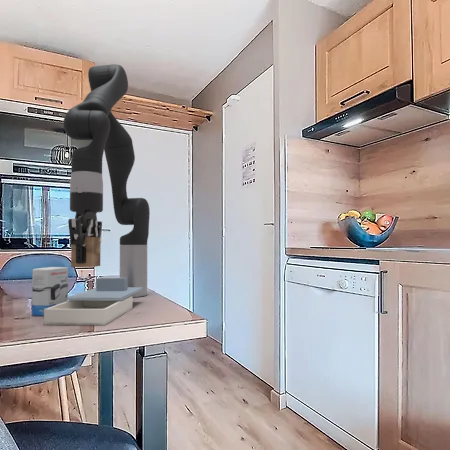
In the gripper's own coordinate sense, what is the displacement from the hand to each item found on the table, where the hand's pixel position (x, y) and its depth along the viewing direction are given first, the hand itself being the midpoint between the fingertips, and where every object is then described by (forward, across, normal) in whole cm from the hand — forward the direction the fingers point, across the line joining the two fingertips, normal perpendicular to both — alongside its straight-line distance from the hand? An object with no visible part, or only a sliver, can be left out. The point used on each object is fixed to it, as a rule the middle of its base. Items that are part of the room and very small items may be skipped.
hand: (86, 262), depth 90 cm
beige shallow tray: (+14, -4, 0) cm, 14 cm away
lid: (+10, -15, 0) cm, 18 cm away
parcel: (+1, 0, 0) cm, 1 cm away
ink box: (+14, -8, -13) cm, 21 cm away
